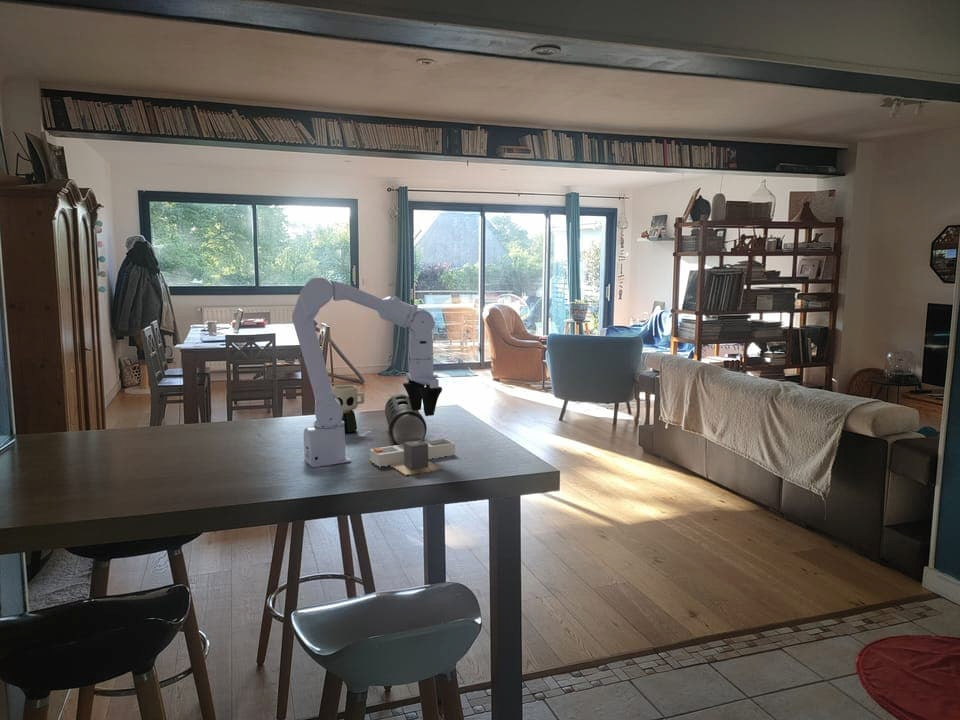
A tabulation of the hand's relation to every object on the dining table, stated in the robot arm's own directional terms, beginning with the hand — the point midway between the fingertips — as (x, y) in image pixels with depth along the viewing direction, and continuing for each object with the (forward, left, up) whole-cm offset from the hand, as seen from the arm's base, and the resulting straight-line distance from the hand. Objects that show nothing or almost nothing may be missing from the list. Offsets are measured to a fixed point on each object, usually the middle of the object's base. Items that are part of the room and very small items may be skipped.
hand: (422, 412), depth 169 cm
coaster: (-7, -11, -10) cm, 16 cm away
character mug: (-9, +33, -11) cm, 36 cm away
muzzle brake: (+2, +16, -11) cm, 20 cm away
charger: (-7, -11, -10) cm, 16 cm away
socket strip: (-4, -3, -10) cm, 11 cm away
